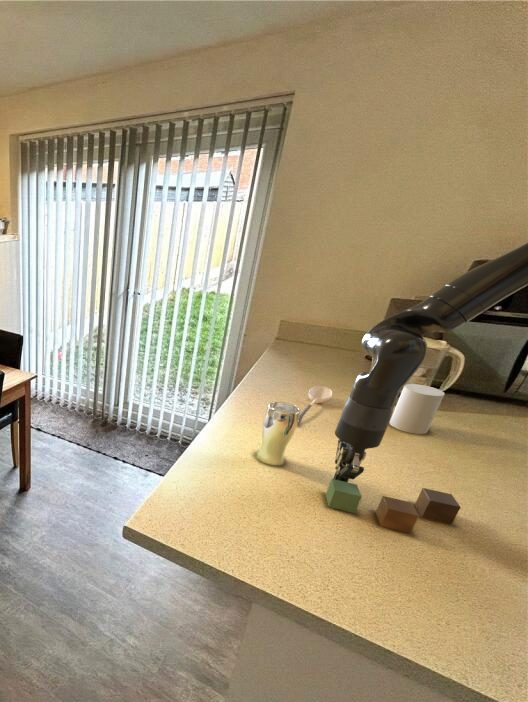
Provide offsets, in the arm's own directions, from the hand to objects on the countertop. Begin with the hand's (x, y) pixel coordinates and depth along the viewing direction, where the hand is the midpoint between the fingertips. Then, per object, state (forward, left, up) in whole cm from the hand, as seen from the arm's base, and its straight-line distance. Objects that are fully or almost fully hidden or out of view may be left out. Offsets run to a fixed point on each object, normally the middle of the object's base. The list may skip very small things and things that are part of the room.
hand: (337, 486), depth 89 cm
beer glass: (+13, -8, -2) cm, 15 cm away
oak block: (-8, +7, -1) cm, 11 cm away
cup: (-23, -45, -2) cm, 51 cm away
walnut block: (-16, 0, -1) cm, 16 cm away
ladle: (+1, -45, -2) cm, 45 cm away
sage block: (0, +5, -1) cm, 5 cm away
